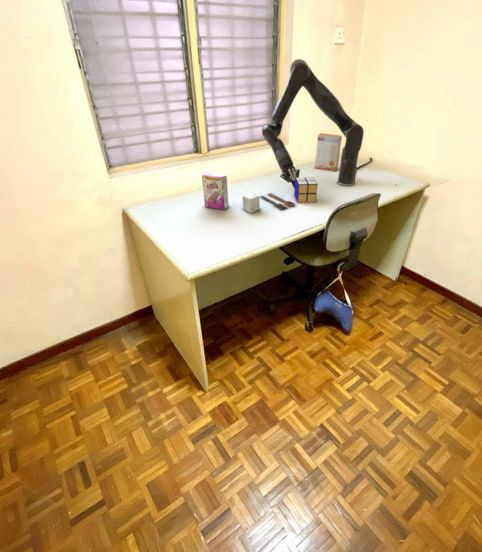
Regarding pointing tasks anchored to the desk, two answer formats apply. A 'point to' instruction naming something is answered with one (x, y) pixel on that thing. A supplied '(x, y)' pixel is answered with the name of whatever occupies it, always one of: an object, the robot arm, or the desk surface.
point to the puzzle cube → (305, 189)
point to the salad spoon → (287, 203)
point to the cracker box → (328, 151)
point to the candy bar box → (215, 190)
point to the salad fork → (274, 203)
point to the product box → (251, 202)
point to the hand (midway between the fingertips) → (296, 187)
